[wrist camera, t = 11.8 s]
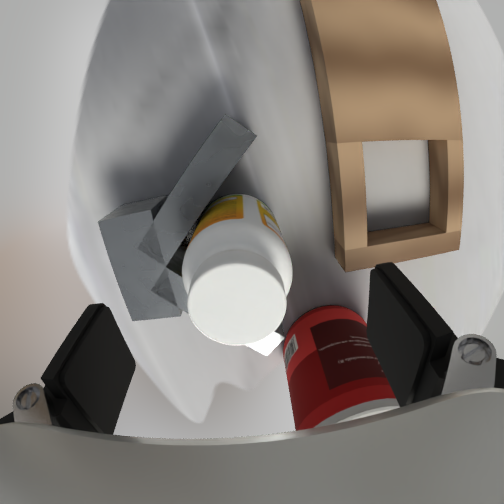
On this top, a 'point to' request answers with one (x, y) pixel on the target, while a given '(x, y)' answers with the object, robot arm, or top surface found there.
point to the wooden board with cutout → (387, 118)
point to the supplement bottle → (237, 271)
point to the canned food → (333, 369)
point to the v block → (172, 232)
